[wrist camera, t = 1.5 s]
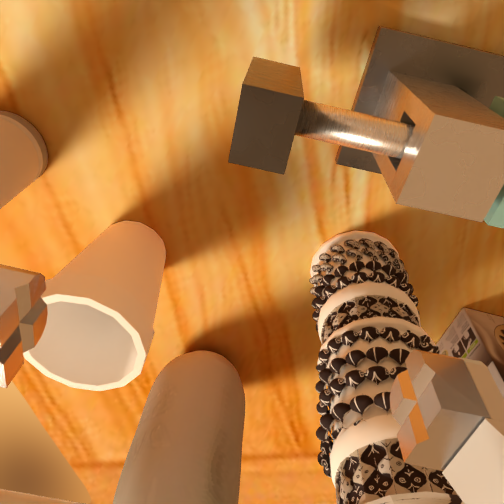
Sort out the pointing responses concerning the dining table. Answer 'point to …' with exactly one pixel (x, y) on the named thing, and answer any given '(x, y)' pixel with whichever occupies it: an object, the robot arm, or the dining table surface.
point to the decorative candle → (367, 371)
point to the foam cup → (102, 310)
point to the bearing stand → (435, 122)
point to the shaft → (300, 121)
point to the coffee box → (477, 341)
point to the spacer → (500, 211)
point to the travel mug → (19, 155)
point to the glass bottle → (188, 436)
